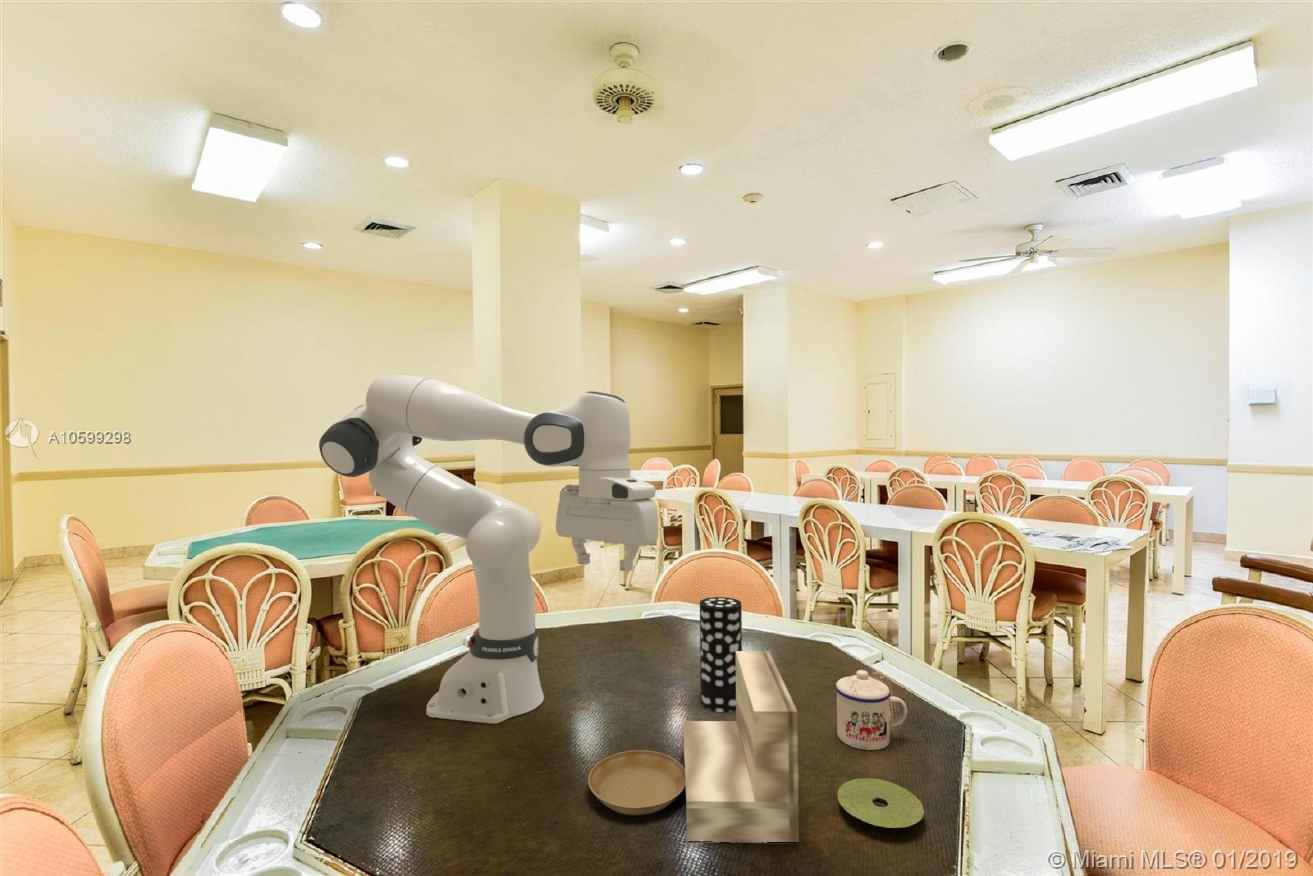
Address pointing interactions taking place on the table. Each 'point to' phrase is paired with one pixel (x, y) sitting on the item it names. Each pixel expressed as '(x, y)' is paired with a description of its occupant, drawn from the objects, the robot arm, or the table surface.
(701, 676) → the white-spotted black cylinder
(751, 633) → the table surface
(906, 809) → the green disc with hole
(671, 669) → the table surface
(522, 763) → the table surface
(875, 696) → the teacup with lid
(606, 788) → the plant saucer
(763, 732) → the wooden step block
